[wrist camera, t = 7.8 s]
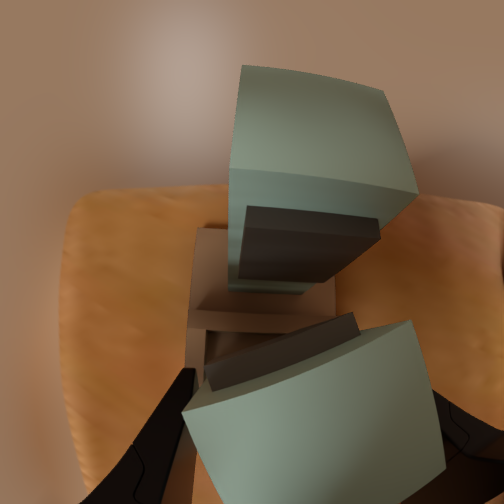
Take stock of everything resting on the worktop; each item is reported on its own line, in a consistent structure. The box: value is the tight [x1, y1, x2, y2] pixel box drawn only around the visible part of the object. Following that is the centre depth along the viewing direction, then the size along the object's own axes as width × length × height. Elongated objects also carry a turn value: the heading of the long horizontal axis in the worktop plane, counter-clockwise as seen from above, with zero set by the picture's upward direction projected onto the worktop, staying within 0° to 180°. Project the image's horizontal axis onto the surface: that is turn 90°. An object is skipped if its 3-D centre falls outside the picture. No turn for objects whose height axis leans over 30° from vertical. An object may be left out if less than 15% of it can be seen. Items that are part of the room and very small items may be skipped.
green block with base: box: [185, 65, 419, 388], centre depth 11 cm, size 13×9×13 cm
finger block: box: [182, 312, 446, 504], centre depth 9 cm, size 5×4×12 cm
